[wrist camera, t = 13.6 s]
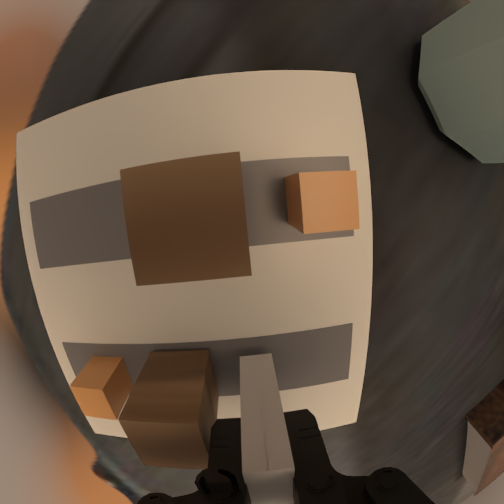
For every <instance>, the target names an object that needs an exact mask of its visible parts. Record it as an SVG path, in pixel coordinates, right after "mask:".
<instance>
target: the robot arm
mask: <svg viewBox="0 0 504 504" xmlns="http://www.w3.org/2000/svg"><path fill="white" fill-rule="evenodd" d="M240 407H241V418H225V419H217V420H216V421H215V423H214V424H213V426H212V427H211V434H210V445H209V447H210V449H209V457H208V468H207V469H205V470H203V471H201V472H200V473H199V474H198V475H197V477H196V480H195V484H196V486H197V488H198V491H196V492H194V493H192V494H188V495H184V496H179V497H173V498H172V497H170V496H168V495H166V494H164V493H150V494H147V495H145V496H143V497H142V498H141V499H140V500H139V501H138V503H137V504H289V503H294V504H435V503H434V502H433V501H431V500H430V499H429V498H428V497H427V496H426V495H425V494H424V493H423V492H422V491H421V490H420V489H419V488H418V487H417V486H416V485H415V484H414V483H413V482H412V481H411V480H410V479H409V478H408V477H407V475H406V474H405V473H404V472H402V471H401V470H399V469H397V468H392V467H386V468H381V469H378V470H376V471H374V472H373V473H372V474H371V475H370V476H346V475H343V474H340V473H338V472H337V471H336V470H335V469H334V468H333V467H332V465H331V463H330V461H329V457H328V454H327V451H326V448H325V445H324V442H323V439H322V436H321V433H320V430H319V428H318V424H317V421H316V418H315V416H314V415H313V414H312V413H311V412H310V411H309V410H308V409H302V410H296V411H289V412H283V408H282V403H281V398H280V393H279V388H278V383H277V378H276V373H275V368H274V363H273V358H272V353H269V354H260V355H251V356H240Z"/></svg>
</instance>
